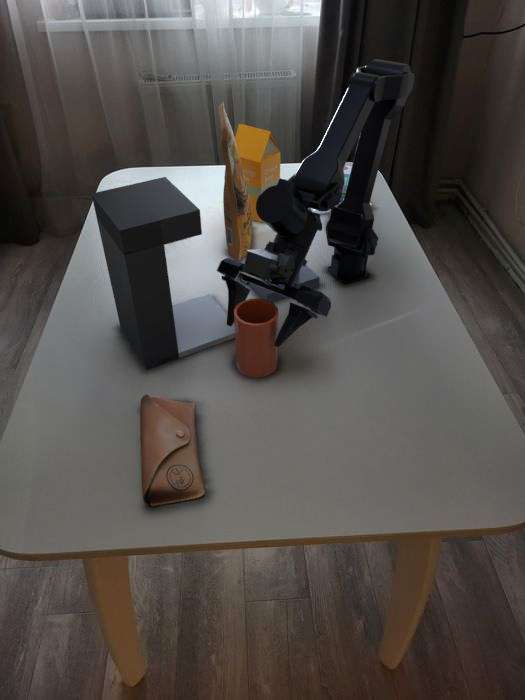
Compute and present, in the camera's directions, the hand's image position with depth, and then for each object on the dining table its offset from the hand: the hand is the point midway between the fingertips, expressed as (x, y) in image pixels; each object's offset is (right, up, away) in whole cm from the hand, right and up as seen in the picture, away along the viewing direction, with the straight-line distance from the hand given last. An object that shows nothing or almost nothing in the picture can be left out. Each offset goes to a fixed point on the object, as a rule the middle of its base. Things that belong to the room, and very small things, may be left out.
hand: (252, 335), depth 88 cm
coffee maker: (-13, +1, +12) cm, 18 cm away
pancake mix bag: (-4, +22, +36) cm, 42 cm away
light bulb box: (+21, +29, +43) cm, 56 cm away
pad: (+5, +11, +23) cm, 26 cm away
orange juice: (0, +31, +47) cm, 56 cm away
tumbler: (+1, -5, +5) cm, 7 cm away
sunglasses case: (-11, -17, -8) cm, 22 cm away
